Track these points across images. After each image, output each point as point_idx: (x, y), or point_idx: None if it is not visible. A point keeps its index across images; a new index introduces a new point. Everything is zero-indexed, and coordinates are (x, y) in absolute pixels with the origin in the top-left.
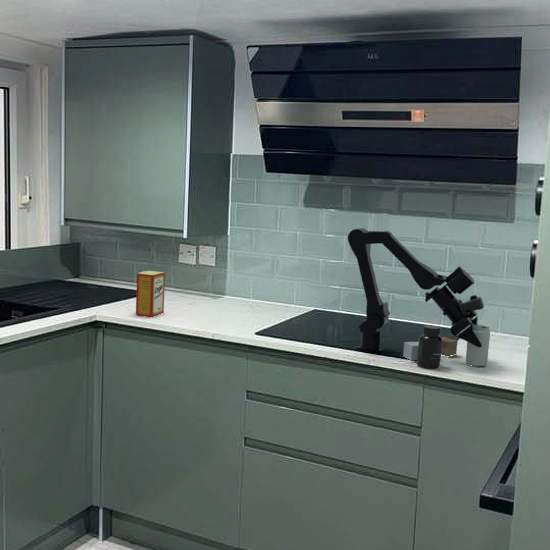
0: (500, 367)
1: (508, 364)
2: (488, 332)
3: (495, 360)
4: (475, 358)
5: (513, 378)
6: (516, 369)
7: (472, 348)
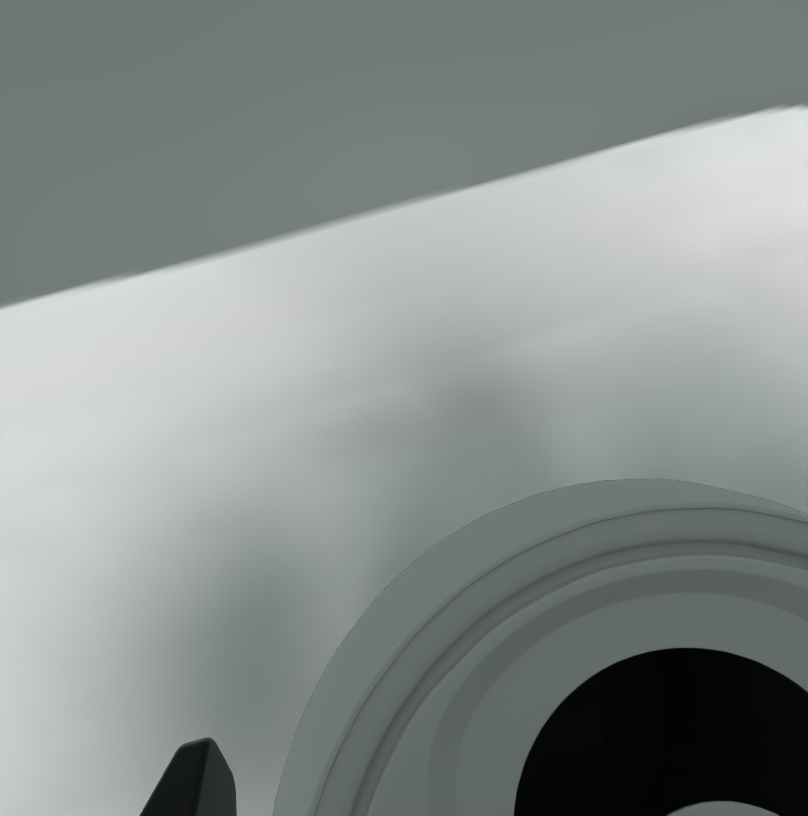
0: (381, 420)
1: (163, 398)
2: (716, 491)
3: (68, 586)
4: (693, 679)
5: (728, 176)
6: (330, 264)
7: (776, 791)
